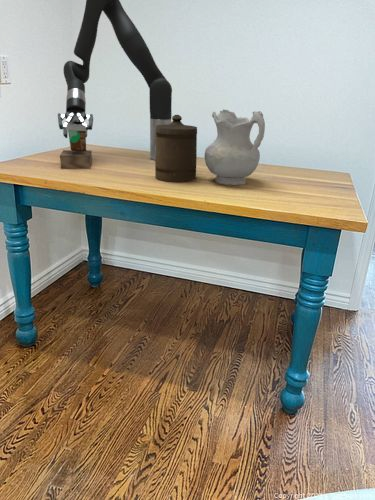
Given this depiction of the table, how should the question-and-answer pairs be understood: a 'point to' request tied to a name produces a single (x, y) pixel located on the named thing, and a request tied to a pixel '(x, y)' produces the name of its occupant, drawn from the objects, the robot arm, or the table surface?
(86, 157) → the walnut block
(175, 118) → the wooden container
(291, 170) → the table surface
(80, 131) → the food container
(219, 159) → the ceramic pitcher
